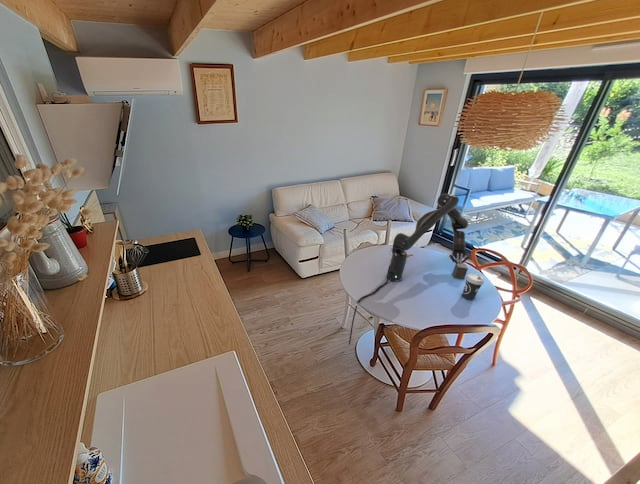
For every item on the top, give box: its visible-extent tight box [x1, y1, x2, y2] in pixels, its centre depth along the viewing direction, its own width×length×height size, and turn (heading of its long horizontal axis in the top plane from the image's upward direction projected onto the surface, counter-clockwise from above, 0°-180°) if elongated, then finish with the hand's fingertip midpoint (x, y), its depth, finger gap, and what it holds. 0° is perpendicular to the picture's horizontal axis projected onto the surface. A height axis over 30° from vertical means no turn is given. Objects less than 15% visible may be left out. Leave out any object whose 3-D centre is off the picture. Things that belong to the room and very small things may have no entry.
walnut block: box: [452, 263, 469, 280], centre depth 199 cm, size 6×6×9 cm
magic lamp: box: [388, 247, 414, 259], centre depth 217 cm, size 7×18×11 cm, turn 77°
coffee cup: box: [461, 273, 485, 301], centre depth 177 cm, size 10×10×15 cm
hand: (458, 268), depth 202 cm, fingers closed
